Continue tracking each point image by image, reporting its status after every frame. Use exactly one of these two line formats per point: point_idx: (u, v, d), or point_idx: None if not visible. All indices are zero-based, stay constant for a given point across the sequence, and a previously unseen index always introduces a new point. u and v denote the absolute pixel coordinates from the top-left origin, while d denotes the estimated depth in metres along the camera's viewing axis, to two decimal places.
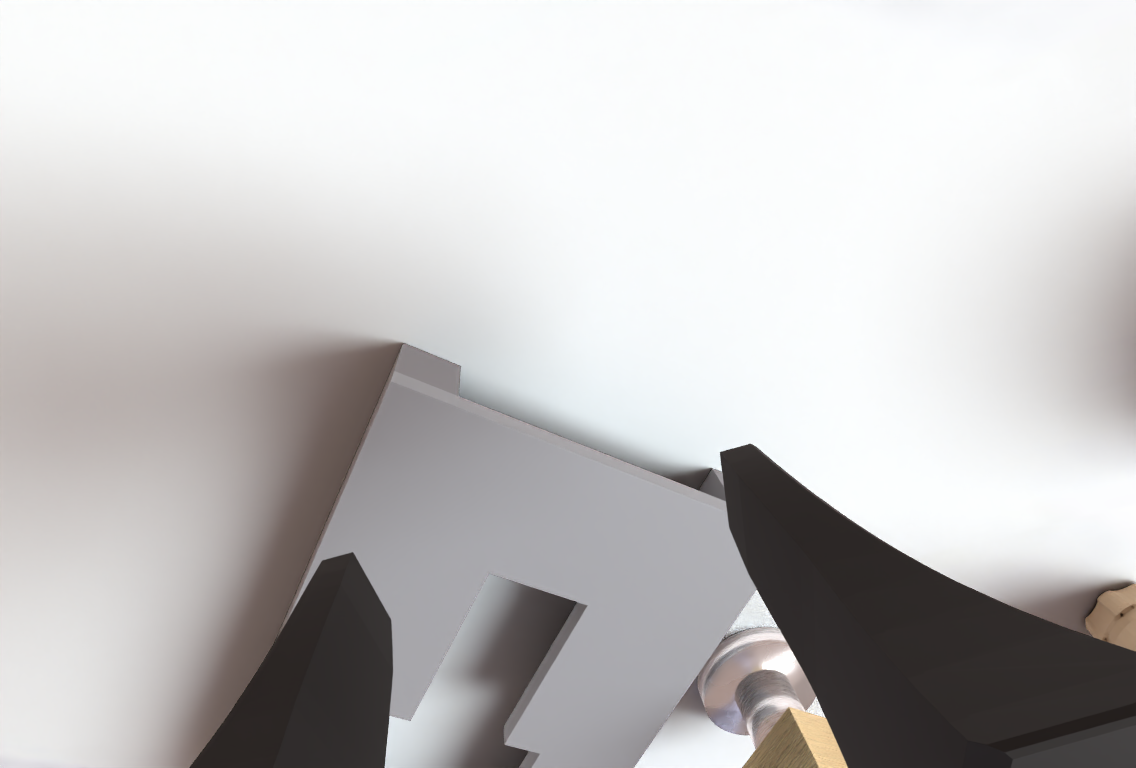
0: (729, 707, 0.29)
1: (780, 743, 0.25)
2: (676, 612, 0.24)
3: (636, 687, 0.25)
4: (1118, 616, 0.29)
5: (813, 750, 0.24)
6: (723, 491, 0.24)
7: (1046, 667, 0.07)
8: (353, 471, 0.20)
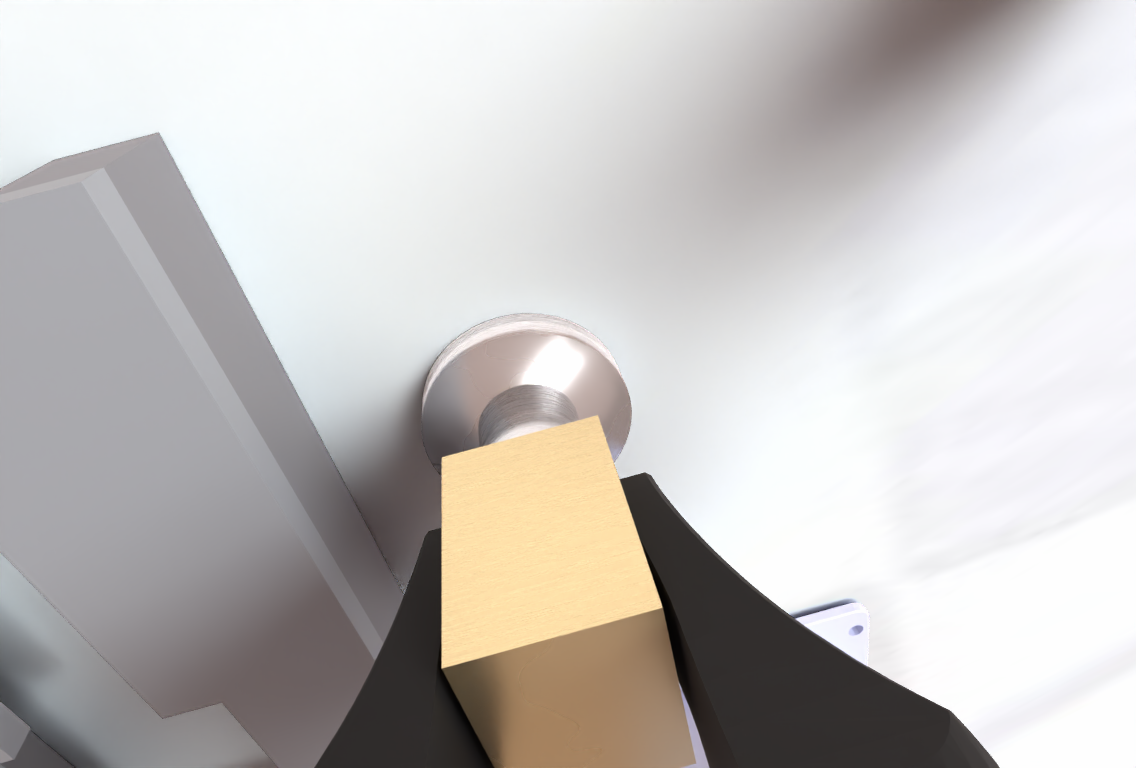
0: None
1: None
2: (101, 440, 0.12)
3: (214, 566, 0.14)
4: None
5: (451, 522, 0.11)
6: None
7: (854, 719, 0.07)
8: None
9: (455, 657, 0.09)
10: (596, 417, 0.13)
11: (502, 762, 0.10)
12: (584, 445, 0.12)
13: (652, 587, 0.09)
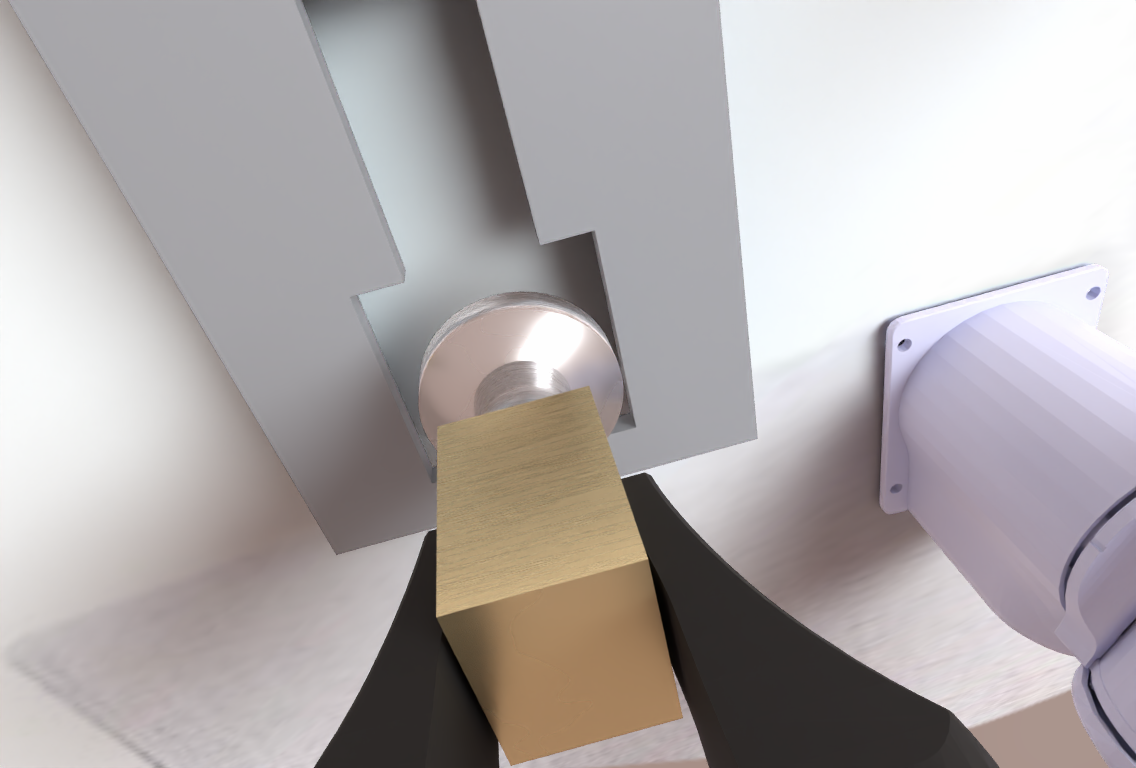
0: None
1: None
2: None
3: (640, 38, 0.15)
4: None
5: (445, 485, 0.12)
6: None
7: (853, 719, 0.07)
8: None
9: (449, 606, 0.10)
10: (587, 387, 0.13)
11: (495, 713, 0.11)
12: (575, 413, 0.13)
13: (638, 541, 0.10)
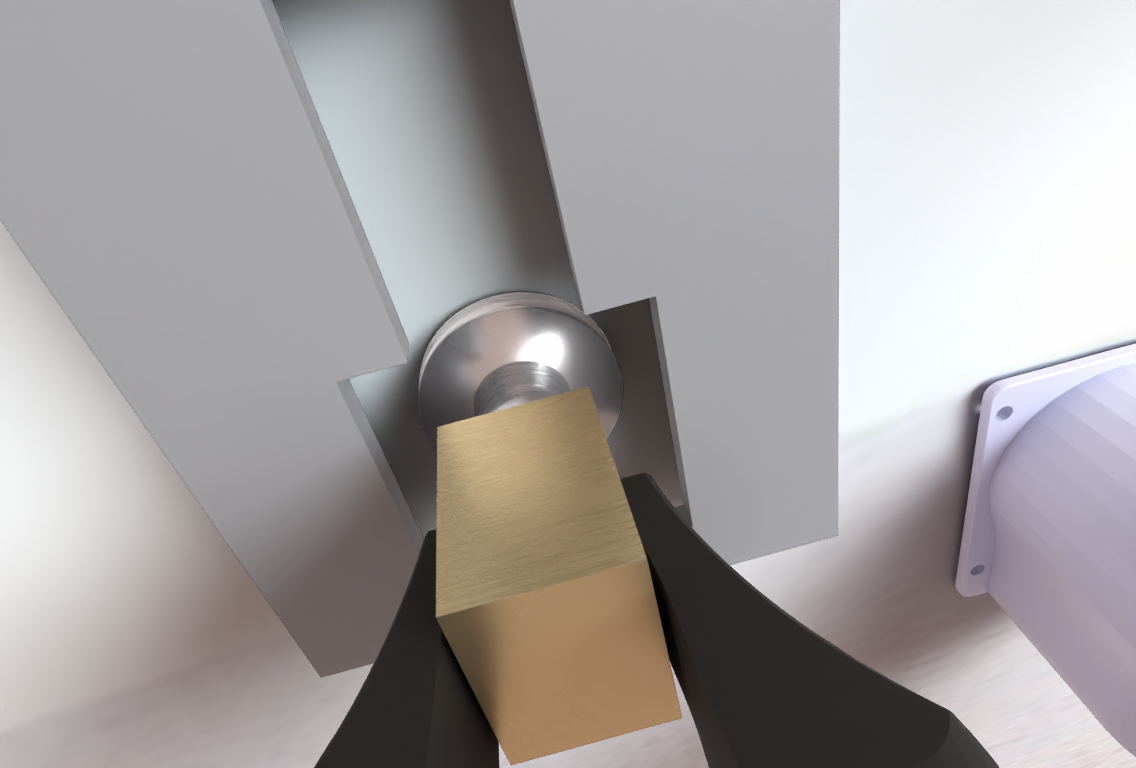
0: None
1: None
2: None
3: (731, 48, 0.11)
4: None
5: (445, 485, 0.12)
6: None
7: (852, 719, 0.07)
8: None
9: (449, 606, 0.10)
10: (587, 388, 0.13)
11: (495, 713, 0.11)
12: (575, 414, 0.13)
13: (638, 541, 0.10)
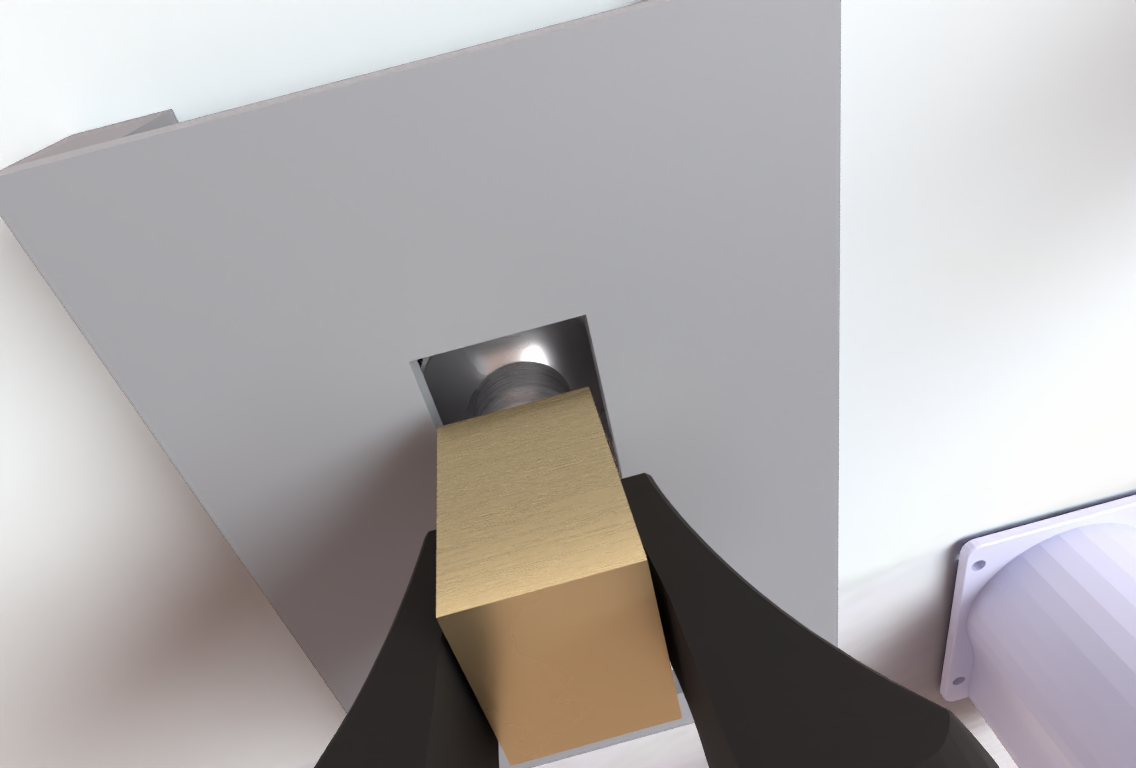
0: None
1: None
2: (730, 236, 0.13)
3: (757, 380, 0.15)
4: None
5: (446, 485, 0.12)
6: None
7: (854, 719, 0.07)
8: (96, 348, 0.12)
9: (449, 607, 0.10)
10: (587, 388, 0.13)
11: (495, 714, 0.11)
12: (575, 414, 0.13)
13: (638, 542, 0.10)
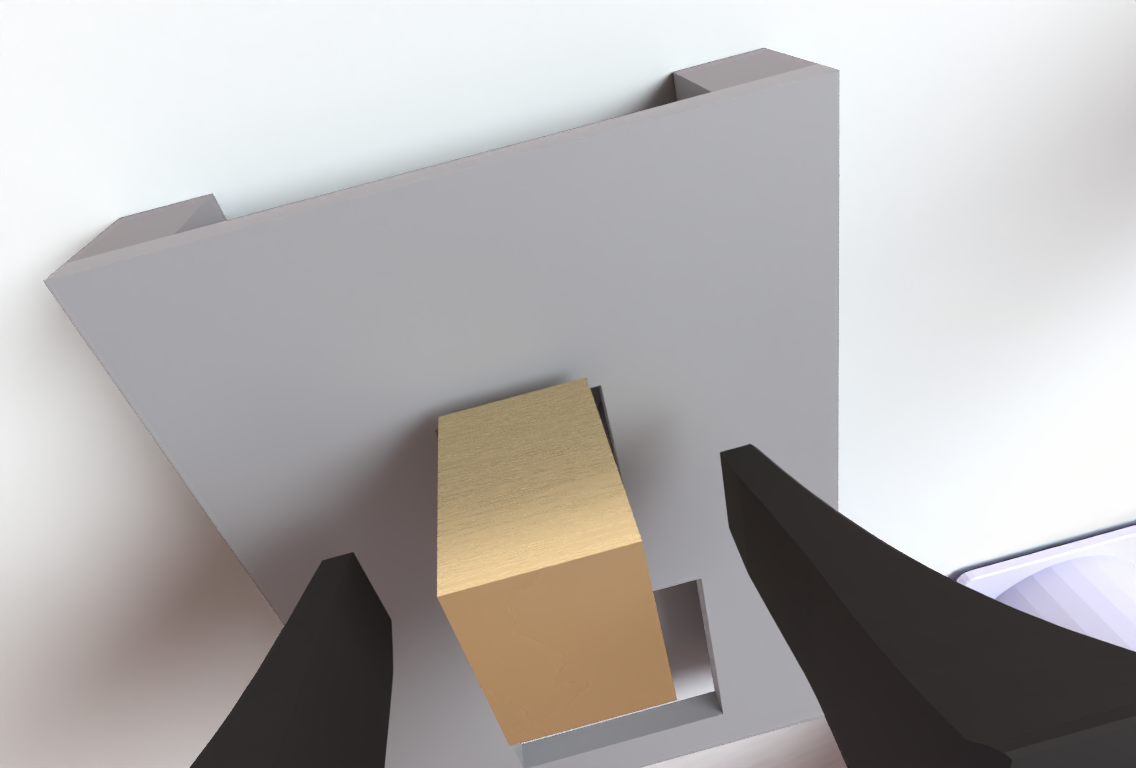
0: None
1: None
2: (736, 313, 0.14)
3: (761, 440, 0.16)
4: None
5: (446, 472, 0.12)
6: (695, 88, 0.13)
7: (1046, 667, 0.07)
8: (146, 423, 0.13)
9: (449, 586, 0.10)
10: (585, 379, 0.14)
11: (494, 694, 0.11)
12: (573, 404, 0.13)
13: (633, 524, 0.10)
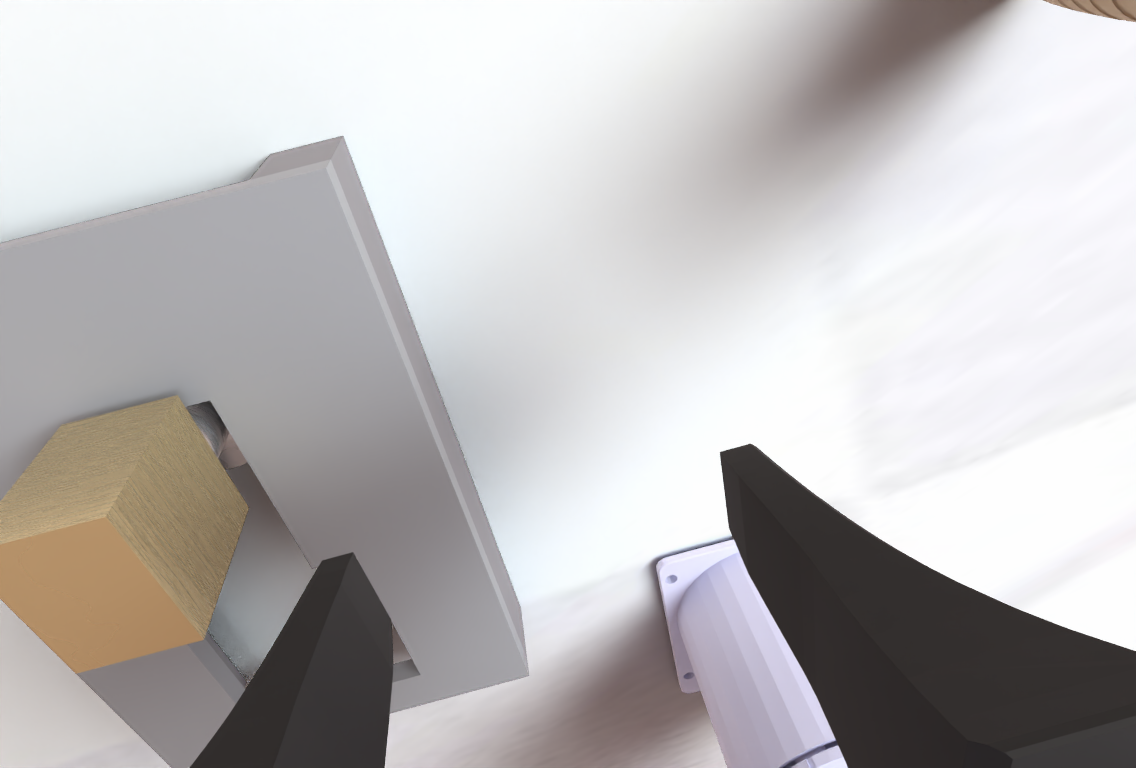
0: None
1: None
2: (308, 345, 0.18)
3: (367, 444, 0.20)
4: None
5: (32, 467, 0.16)
6: None
7: (1046, 666, 0.07)
8: None
9: None
10: (175, 396, 0.17)
11: (41, 631, 0.15)
12: (151, 416, 0.17)
13: (112, 505, 0.14)
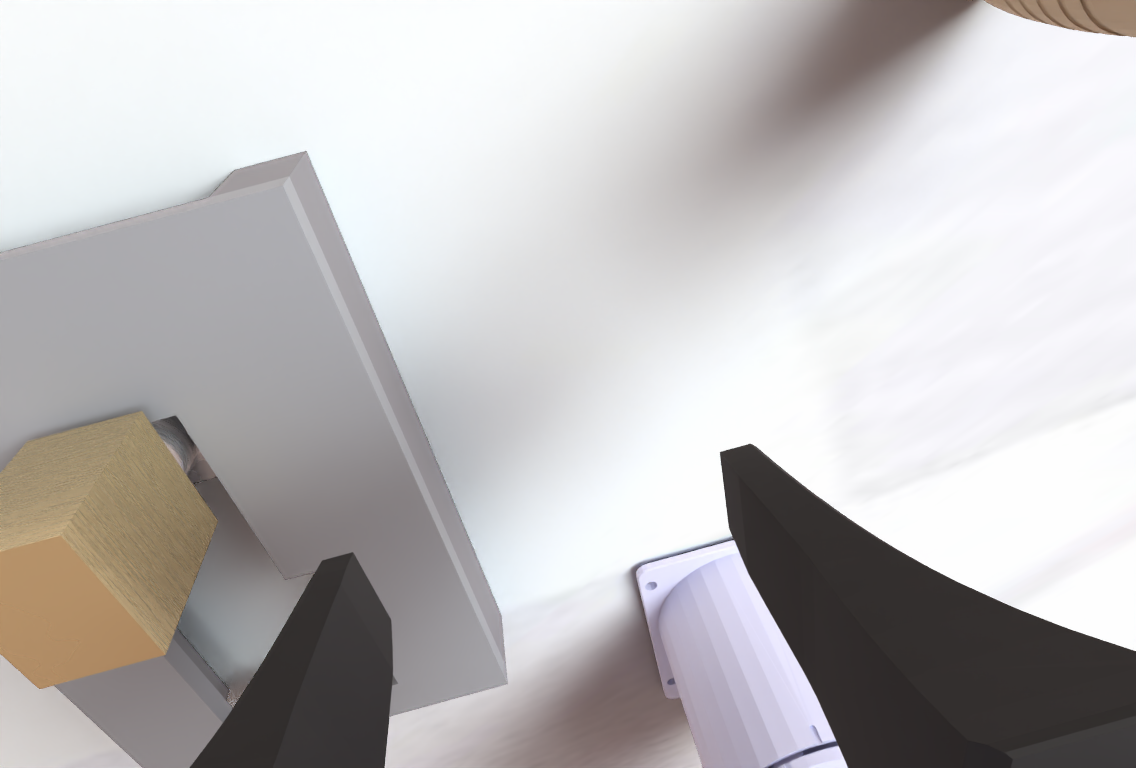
0: None
1: None
2: (272, 360, 0.18)
3: (335, 457, 0.20)
4: None
5: None
6: None
7: (1045, 666, 0.07)
8: None
9: None
10: (140, 412, 0.18)
11: (3, 647, 0.15)
12: (115, 432, 0.17)
13: (67, 523, 0.14)
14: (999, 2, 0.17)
